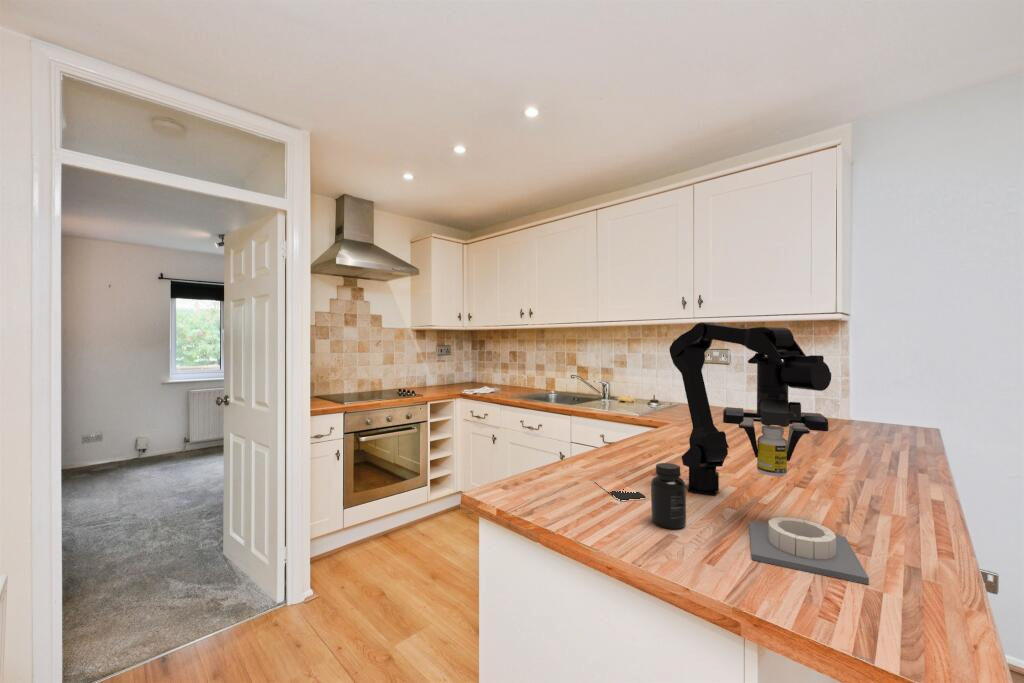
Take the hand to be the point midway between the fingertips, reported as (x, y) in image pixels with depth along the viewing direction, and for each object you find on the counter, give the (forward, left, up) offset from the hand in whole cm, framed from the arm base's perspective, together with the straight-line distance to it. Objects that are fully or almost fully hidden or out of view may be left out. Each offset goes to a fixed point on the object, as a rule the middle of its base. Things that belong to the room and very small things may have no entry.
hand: (772, 458), depth 91 cm
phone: (-33, +3, -14) cm, 36 cm away
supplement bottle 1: (-19, -12, -13) cm, 26 cm away
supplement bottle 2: (0, 0, -3) cm, 3 cm away
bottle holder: (+4, -13, -13) cm, 19 cm away
